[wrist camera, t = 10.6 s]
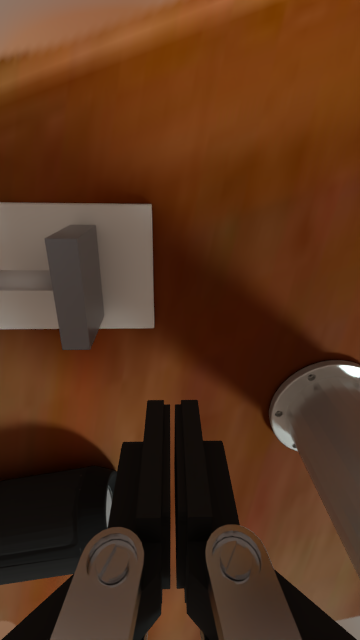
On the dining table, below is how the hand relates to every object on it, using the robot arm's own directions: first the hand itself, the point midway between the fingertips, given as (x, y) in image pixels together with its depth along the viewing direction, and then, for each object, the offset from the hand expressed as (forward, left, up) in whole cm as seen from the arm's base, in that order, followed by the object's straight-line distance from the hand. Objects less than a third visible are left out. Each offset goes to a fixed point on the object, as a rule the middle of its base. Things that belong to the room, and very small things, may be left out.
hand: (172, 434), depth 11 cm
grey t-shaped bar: (+10, 0, -18) cm, 21 cm away
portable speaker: (+18, +28, -20) cm, 39 cm away
